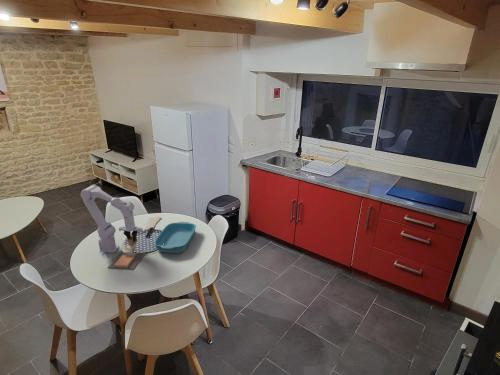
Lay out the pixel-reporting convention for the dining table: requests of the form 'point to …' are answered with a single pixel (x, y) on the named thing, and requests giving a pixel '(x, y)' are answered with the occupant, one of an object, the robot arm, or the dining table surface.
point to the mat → (134, 263)
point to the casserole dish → (175, 237)
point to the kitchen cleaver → (152, 224)
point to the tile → (124, 261)
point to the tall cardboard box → (130, 248)
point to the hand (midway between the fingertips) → (132, 240)
